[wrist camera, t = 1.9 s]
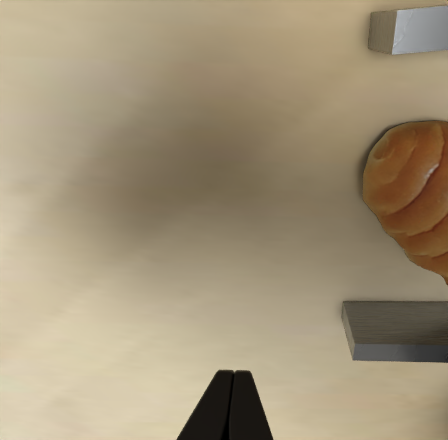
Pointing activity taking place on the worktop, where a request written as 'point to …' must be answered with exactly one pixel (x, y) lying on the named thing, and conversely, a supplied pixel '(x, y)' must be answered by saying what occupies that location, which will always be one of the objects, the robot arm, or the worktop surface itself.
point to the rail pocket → (401, 311)
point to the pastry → (412, 190)
